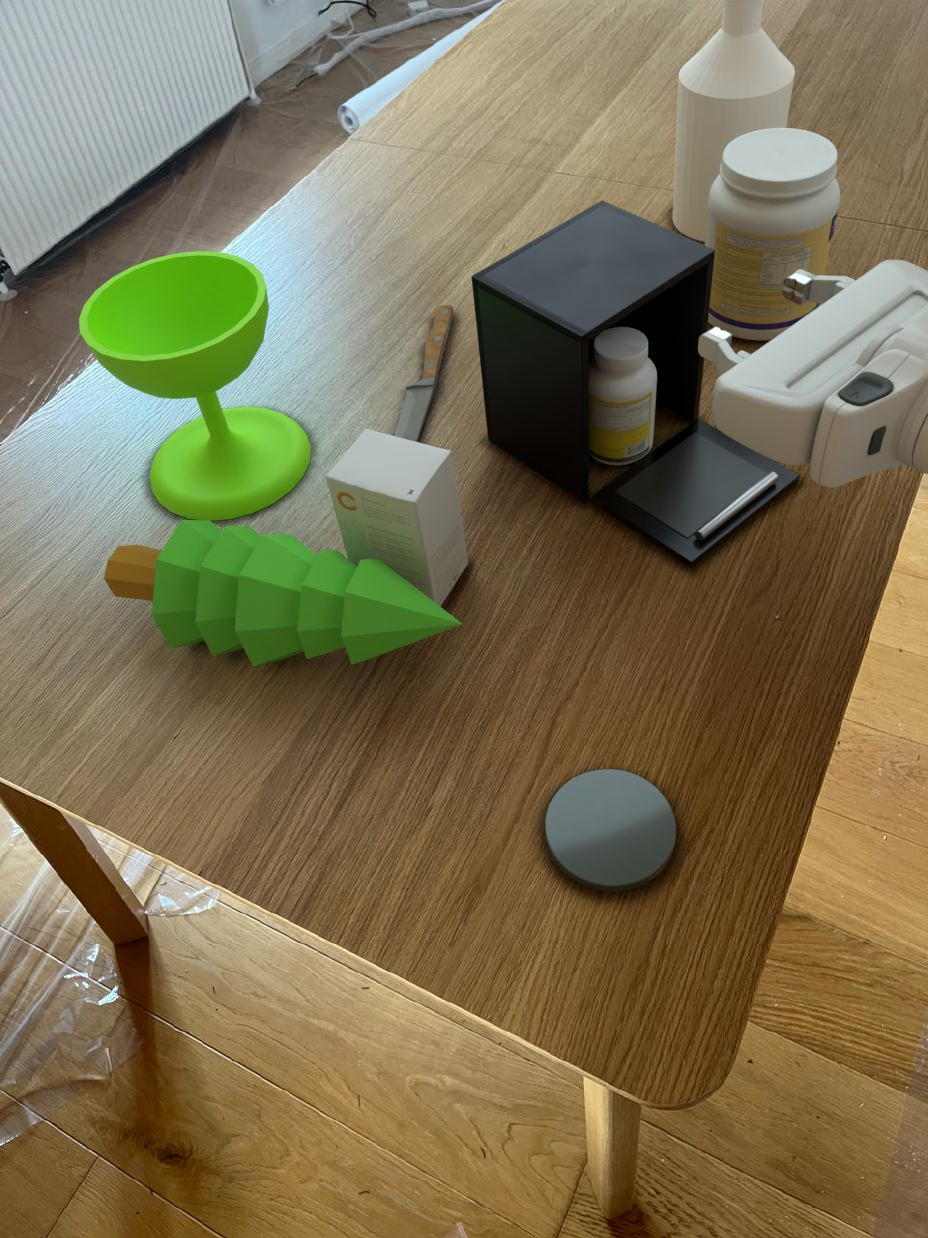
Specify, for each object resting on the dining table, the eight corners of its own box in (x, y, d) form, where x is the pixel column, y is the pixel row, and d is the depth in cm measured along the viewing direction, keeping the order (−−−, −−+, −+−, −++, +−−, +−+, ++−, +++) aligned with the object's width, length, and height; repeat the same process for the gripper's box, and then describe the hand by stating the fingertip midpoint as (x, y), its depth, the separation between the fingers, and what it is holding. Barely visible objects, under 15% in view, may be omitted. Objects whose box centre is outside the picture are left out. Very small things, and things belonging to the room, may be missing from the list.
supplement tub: (839, 329, 104) (874, 168, 91) (726, 357, 103) (745, 198, 90) (786, 268, 112) (811, 111, 99) (680, 293, 111) (692, 138, 98)
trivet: (656, 765, 74) (657, 758, 73) (691, 879, 68) (692, 873, 68) (534, 787, 74) (533, 780, 73) (559, 903, 68) (558, 896, 68)
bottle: (765, 248, 115) (800, 4, 96) (660, 239, 118) (673, 2, 99) (781, 194, 122) (815, -44, 102) (681, 187, 125) (696, -45, 106)
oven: (803, 478, 91) (839, 304, 78) (686, 572, 86) (703, 403, 72) (601, 364, 104) (602, 199, 91) (488, 440, 99) (471, 275, 85)
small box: (470, 563, 89) (454, 449, 79) (436, 616, 85) (415, 503, 75) (389, 539, 92) (364, 425, 82) (353, 588, 88) (322, 476, 78)
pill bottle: (614, 414, 99) (616, 310, 90) (667, 442, 96) (675, 337, 87) (569, 449, 97) (566, 346, 88) (622, 479, 94) (625, 375, 85)
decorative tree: (105, 483, 81) (461, 528, 73) (176, 537, 92) (494, 582, 83) (58, 617, 79) (423, 681, 70) (138, 657, 89) (463, 717, 80)
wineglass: (264, 534, 93) (207, 373, 80) (118, 503, 98) (40, 346, 84) (337, 423, 103) (298, 261, 89) (200, 399, 107) (142, 242, 93)
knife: (426, 304, 112) (452, 304, 111) (427, 313, 113) (454, 313, 112) (371, 507, 93) (403, 507, 93) (373, 515, 94) (405, 516, 94)
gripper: (1018, 279, 69) (843, 210, 76) (828, 426, 61) (655, 335, 69) (990, 357, 74) (828, 285, 81) (811, 502, 66) (651, 409, 74)
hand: (747, 309), depth 75 cm, fingers open, 8 cm apart
